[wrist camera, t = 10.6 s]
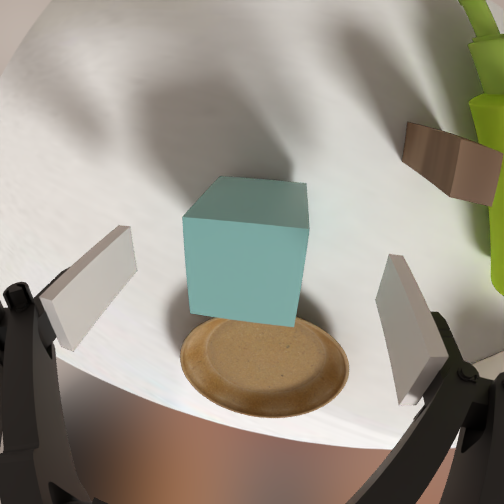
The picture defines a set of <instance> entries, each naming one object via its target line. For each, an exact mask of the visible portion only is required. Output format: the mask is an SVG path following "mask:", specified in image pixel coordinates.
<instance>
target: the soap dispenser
mask: <svg viewBox="0 0 504 504" xmlns="http://www.w3.org/2000/svg"><path fill="white" fill-rule="evenodd" d="M458 1H459V3H460V5H461V6H463V8H464V10H465V12H466V14H467V16H468V18H469V20H470V23H471V25H472V27H473V29H474V32H475V34H476V37H475V38H472V40H473V43H469V44H468V48H469V50H470V53H471V56H472V58H473V61H474V64H475V67H476V70H477V73H478V76H479V79H480V82H481V85H482V88H483V92H484V93H483V94H481V95H478V96H476V97H474V98H473V99H471V100H470V101H469V106H470V110H471V113H472V117H473V121H474V125H475V129H476V134H477V138H478V143H479V144H482V145H484V146H487V147H489V148H492V149H494V150H497V151H499V152H501V153H504V34H500V32H499V30H498V27H497V25H496V23H495V20H494V18H493V16H492V14H491V11H490V9H489V7H488V5H487V3H486V1H485V0H458ZM488 209H489V222H490V241H491V281H492V284H493V286H494V287H495V289H496V290H497V291H498V292H499V293H500V294H502V295H503V296H504V155H503V160H502V166H501V171H500V175H499V180H498V184H497V188H496V193H495V196H494V200H493V204H492V207H490V206H488Z"/></svg>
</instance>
